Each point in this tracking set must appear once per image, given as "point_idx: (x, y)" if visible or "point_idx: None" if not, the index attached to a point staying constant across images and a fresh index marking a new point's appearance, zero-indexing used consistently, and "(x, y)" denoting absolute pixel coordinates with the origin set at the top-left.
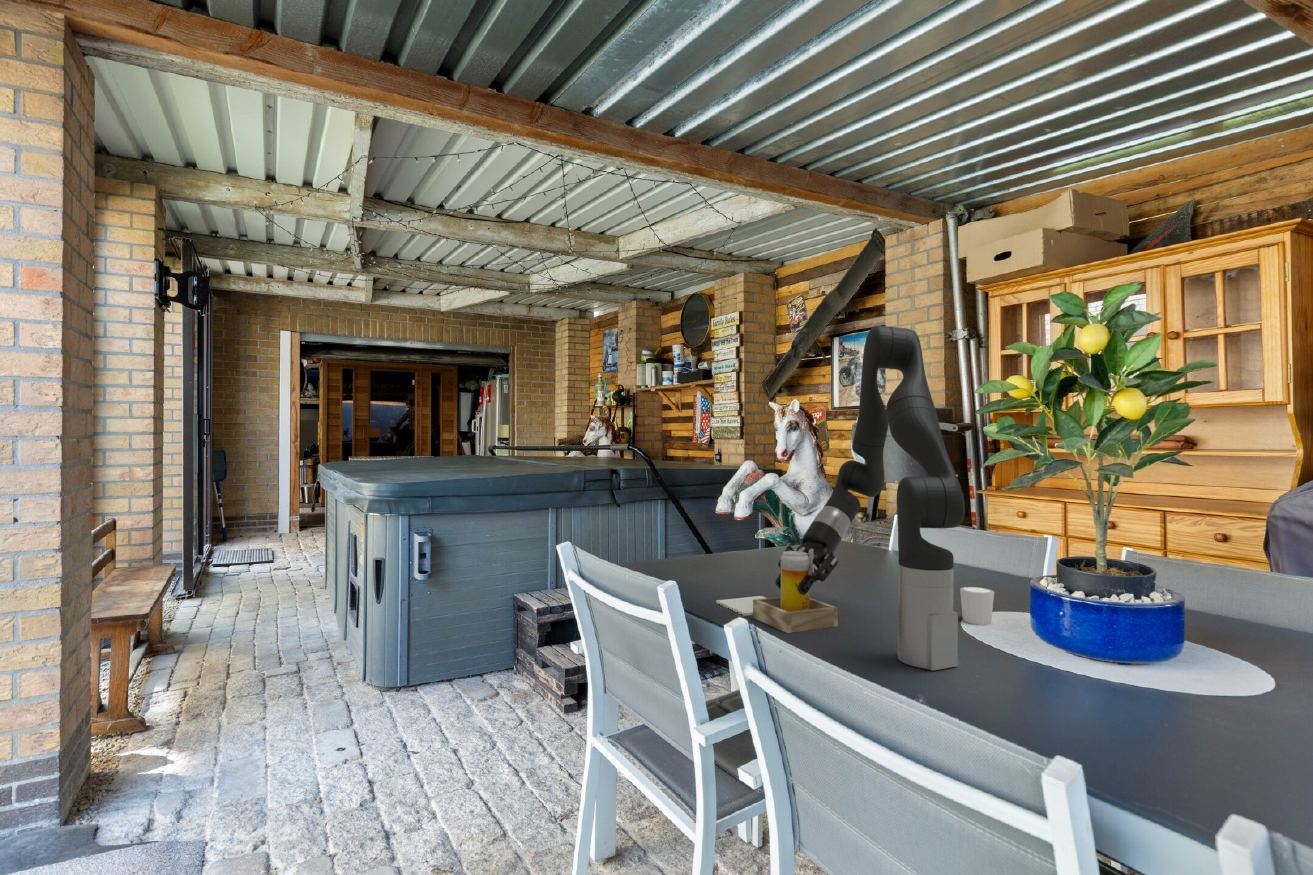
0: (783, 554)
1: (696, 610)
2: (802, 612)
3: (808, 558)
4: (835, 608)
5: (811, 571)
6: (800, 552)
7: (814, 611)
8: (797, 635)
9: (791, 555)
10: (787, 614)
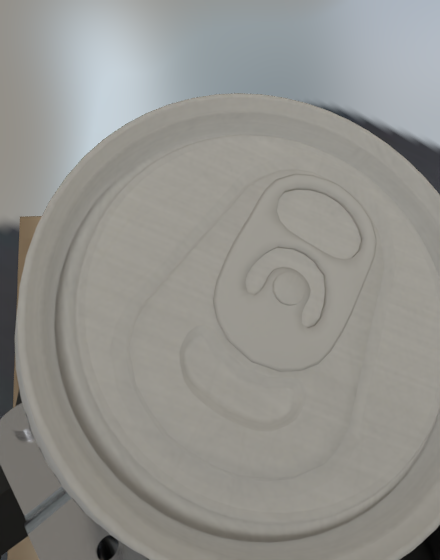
0: (297, 116)
1: (387, 129)
2: (17, 304)
3: (89, 510)
4: (9, 555)
5: (15, 448)
6: (416, 504)
7: (16, 384)
8: (2, 270)
9: (126, 133)
10: (21, 219)
